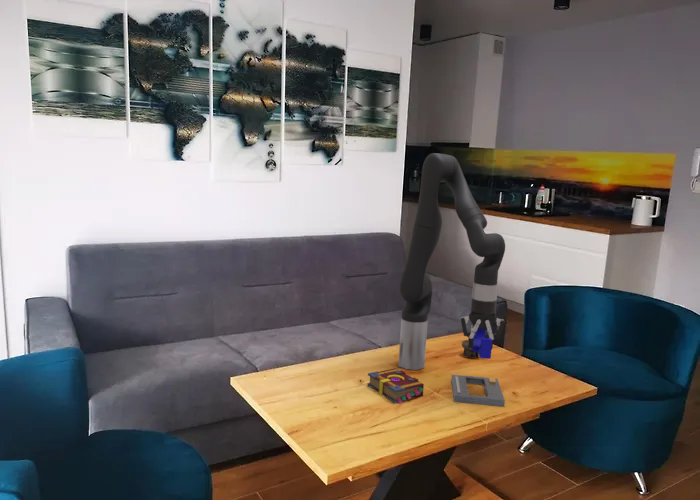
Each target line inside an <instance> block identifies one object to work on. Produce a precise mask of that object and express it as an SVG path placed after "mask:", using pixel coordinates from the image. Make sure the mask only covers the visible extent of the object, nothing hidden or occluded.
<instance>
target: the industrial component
mask: <svg viewBox="0 0 700 500" xmlns="http://www.w3.org/2000/svg"><path fill="white" fill-rule="evenodd" d="M472 325H473V324H471V325H470V327H469V328H470V329H469V331H470V330H471V327H472ZM461 346H462V347H463V350H462V351H463V356H465V358H469V359H476V358H477V359H479V357H480V356H479V354H478V352H477V351H472V350H470V348H469V347H468V339H466V340H462V342H461Z"/></svg>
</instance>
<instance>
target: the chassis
mask: <svg viewBox="0 0 700 500" xmlns="http://www.w3.org/2000/svg"><path fill="white" fill-rule="evenodd" d="M450 381H451V382H450V383H451V389H452V390H451V391H452V396H453V403H464V404H471V405H474V404H475V405H484V406H485V405H487V406H495V407H505V401H506V399H505V397H504V394H503V392H502V388H501V385H500V381H499V379H498V378H497V377H496V378H494V377H493V378H492V377H483V376H482V377H481V376H471V375H459V374H451V379H450ZM468 384H470V385H482V386H483V387H484V392H485V395H486V396H485V395H475V394H474V395H473V394H470V393H469V389H468V388H469V387H468Z"/></svg>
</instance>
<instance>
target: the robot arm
mask: <svg viewBox="0 0 700 500" xmlns="http://www.w3.org/2000/svg"><path fill="white" fill-rule="evenodd" d="M420 179H421V180H420V189H419V196H418V197H419V198H418V202H417V210H416V214H415V218H414V224H413V226H412V227H413V228H412V232H411V239H410V242H409V243H410V245H409V248H408V254H407V260H406V263H405V268H404V271H403V273H402V277H401V280H400V284H399V293H400V296H401V298H402V299H403V300H404V301H405V302H406V303H405V305H404V307H403V309H402V310H401V315H400V317H401V319H400V333H399V334H400V335H399V349H398V350H399V351H398V368H402V369H405V370H413V371H414V370H415V371H417V370H422V369H424V368H425V364H426V351H427V349H426V348H427V347H426V346H427V332H428V331H427V330H428V319H429V318H428V317H429V314H430V311H431V308H432V297H433V284H432V280H431V278H430V277H429V275H427V274H426V271H427V267H428V264H429V262H430V259H431V257H432V255H434V252H435V250H436V248H437V246H438V243H439V239H440V237H441V236H440V235H441V231H442V225H443V220H442V219H443V218H442V215H441V214H442V213H441V211H440V206H439V202H438V201H439V200H438V196H439V195H438V194H439V188H440V184H441V183H445V184H446V186H448V188H449V189H450V190H451V192H452V196H453V198H454V199H453V200H454V209H455V212H456V215H457V217H458V219H459V220H460V222H461V224H462V225H463V227H464V229H465V231H466V235H467V239H468V242H469V246H470V247H469V248H470V249H471V251H472V252H473V254H475V255H476V256H478V257H480V258H483V260H482V261H481V262H480V263H477V265H475V267H474V273H473V274H474V276H473V285H472V289H471V301H470V302H471V304H470V305H471V306H470V313H469V314H468V315H467V316H463V315H461V316H459V317H460V323H461V328H462V333H463V336H464V337H467V338H468V339H467V340H468V347H469V348H470V350H473V341H474V339H473V337H474V334H475V333H476V331H477V329H484V330H485V331H486V332H487V335H488V338H491V339H492V349H491V351H492V350H493V349H494V347H493V344H494V340H496V339H497V340H499V339H500V338H501V335H502V332H503V329H504V327H505V324H506V321H505V319H503V318H498V317H497V316H496V311H497V300H498V278H499V269H500V267H501V265H502V262H503V259H504V256H505V252H506V242H505V239H504V237H503V235H501V234H499V233H495V232H494V233H493V232H492V233H487V232H485V228H487V225H488V221H487V218H486V217H485V215H484V213H483V211H482V210H481V208H480V207H479V205H478V203H477V202H476V200H475V198H474V197H473V194H472V192H471V189H470V187H469V186H468V182H467V180H466V178H465V175H464V173H463V170H462V168H461V165H460V163H459V161H458V159H457V158H456V157H455V156H453V155H451V154H445V153H440V152H439V153H435V152H434V153H433V152H432V153H429V154H428V155H427V156H426V157H425V159H424V162H423V165H422V169H421V178H420ZM469 321H470V323H471V325H472V327H471V330H470V329H469V331H468V329H467V325H466V324H468V322H469ZM495 323H496V325H497V327H496V330H495V332H494V333H493V330H492V327H493V326H494V324H495Z"/></svg>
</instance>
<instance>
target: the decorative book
mask: <svg viewBox="0 0 700 500" xmlns="http://www.w3.org/2000/svg"><path fill="white" fill-rule="evenodd" d="M367 376H368V377H369V382H368V383H367V385H366V386H367V387H369V388H371V389H373V390H375V391H377V392H378V395H381V396H384V397H386V398H387V400H389V401H390V402H392V403H393V404H398V405H402V404H403V402H405V401H407V400H411V399H415V398H419V397H423V396H424V387H425V386H424V385H425V384H424V383H422V382H421V381H419V379H418V378H416V377H415V376H414V377H413V376H412V377H411V376H410V375H408V374H406V372H405V371H404V370H401V369H400V370H399V369H398V368H396V367H395V368H394V367H393V368H390V369H385V370H379V371H373V372H368V373H367Z"/></svg>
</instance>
